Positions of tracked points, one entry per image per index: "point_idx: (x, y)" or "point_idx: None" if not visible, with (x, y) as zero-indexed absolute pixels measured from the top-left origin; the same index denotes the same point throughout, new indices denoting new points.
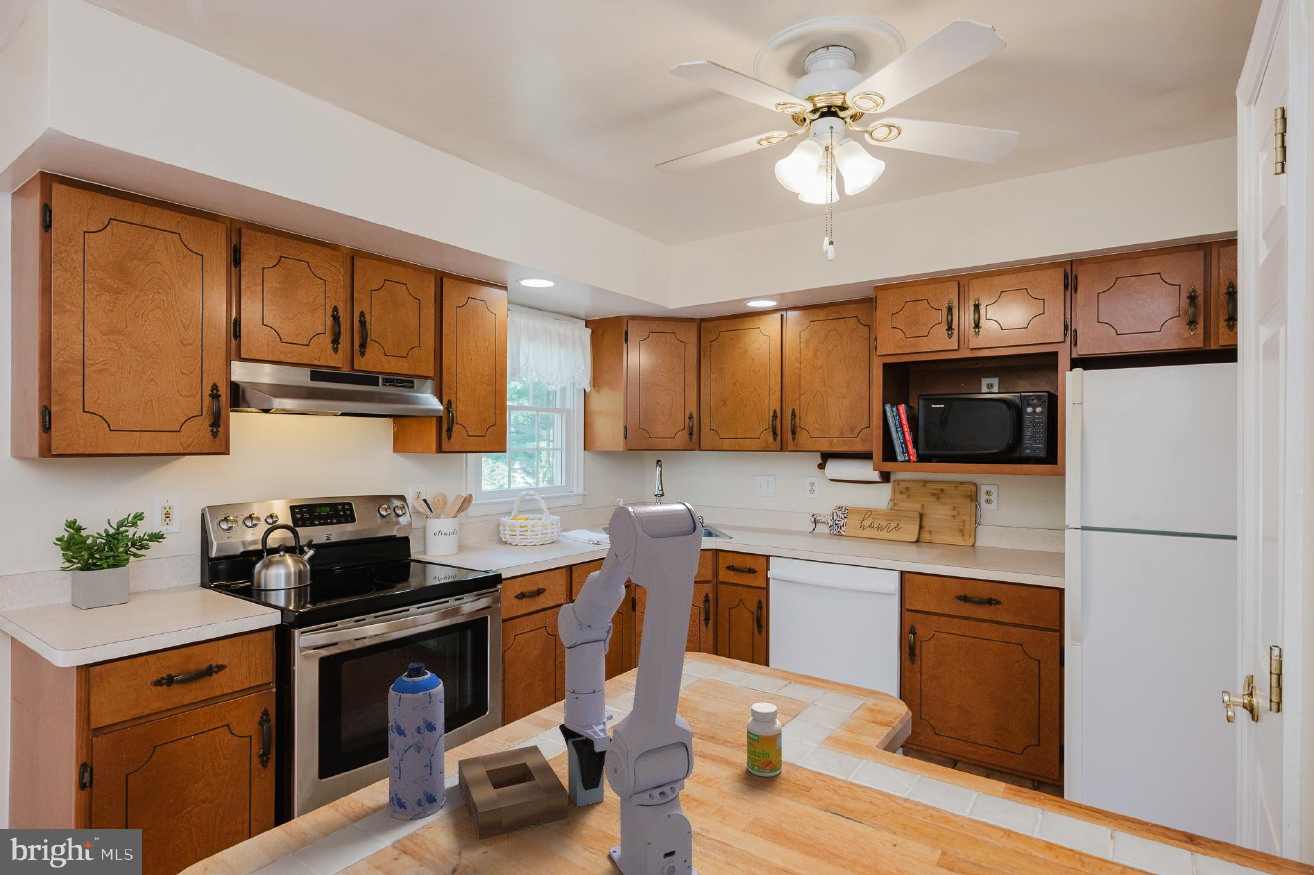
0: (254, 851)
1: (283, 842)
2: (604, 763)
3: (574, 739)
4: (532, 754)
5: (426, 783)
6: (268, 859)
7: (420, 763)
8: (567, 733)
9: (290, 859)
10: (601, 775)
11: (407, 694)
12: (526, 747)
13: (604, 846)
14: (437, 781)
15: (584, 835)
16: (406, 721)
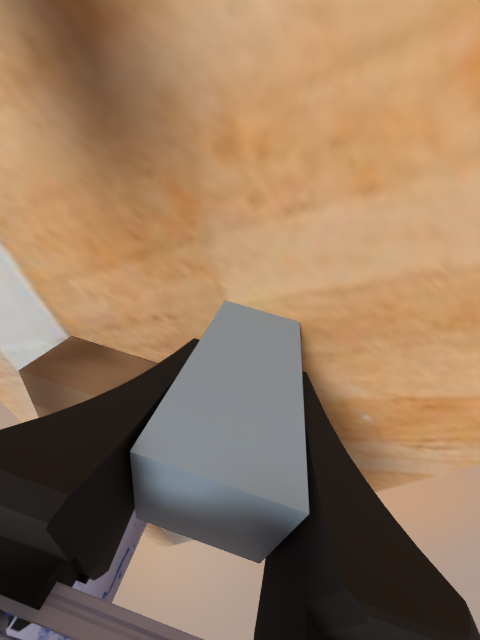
0: (153, 539)
1: (149, 531)
2: (344, 448)
3: (148, 513)
4: (70, 403)
5: (137, 537)
6: (169, 542)
7: (117, 589)
8: (111, 551)
9: (177, 539)
10: (318, 399)
11: None
12: (29, 391)
13: (452, 428)
14: (130, 522)
15: (379, 425)
16: None
